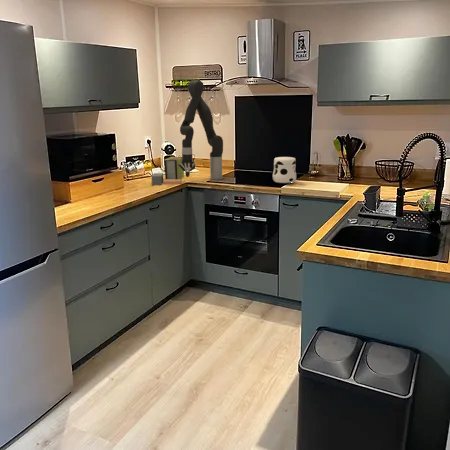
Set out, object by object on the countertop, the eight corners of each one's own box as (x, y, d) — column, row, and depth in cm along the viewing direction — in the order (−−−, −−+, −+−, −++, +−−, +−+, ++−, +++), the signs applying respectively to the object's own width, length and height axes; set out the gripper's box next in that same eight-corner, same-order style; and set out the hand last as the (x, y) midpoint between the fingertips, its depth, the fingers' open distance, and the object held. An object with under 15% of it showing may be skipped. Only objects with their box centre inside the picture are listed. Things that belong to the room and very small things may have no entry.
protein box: (184, 176, 363) (183, 156, 358) (177, 180, 348) (176, 159, 344) (171, 175, 365) (171, 156, 361) (164, 179, 351) (163, 159, 346)
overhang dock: (163, 181, 343) (163, 173, 342) (161, 184, 332) (161, 176, 330) (154, 181, 343) (153, 173, 342) (152, 185, 332) (151, 176, 330)
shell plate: (182, 182, 341) (181, 179, 341) (180, 184, 334) (180, 181, 333) (165, 182, 342) (164, 179, 341) (163, 184, 334) (162, 181, 334)
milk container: (301, 182, 331) (301, 158, 326) (285, 186, 320) (286, 161, 315) (282, 179, 344) (283, 155, 338) (267, 183, 332) (267, 158, 327)
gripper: (196, 152, 335) (196, 176, 340) (178, 152, 335) (179, 175, 340) (195, 154, 328) (196, 177, 333) (177, 154, 328) (178, 177, 333)
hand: (187, 176), depth 336 cm, fingers closed
